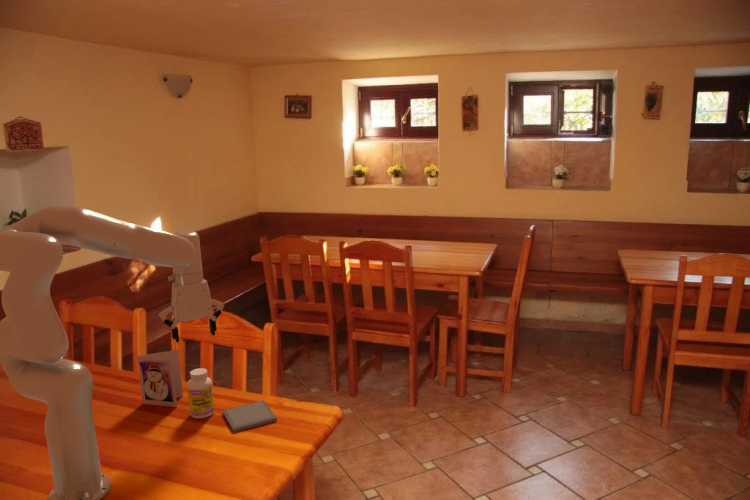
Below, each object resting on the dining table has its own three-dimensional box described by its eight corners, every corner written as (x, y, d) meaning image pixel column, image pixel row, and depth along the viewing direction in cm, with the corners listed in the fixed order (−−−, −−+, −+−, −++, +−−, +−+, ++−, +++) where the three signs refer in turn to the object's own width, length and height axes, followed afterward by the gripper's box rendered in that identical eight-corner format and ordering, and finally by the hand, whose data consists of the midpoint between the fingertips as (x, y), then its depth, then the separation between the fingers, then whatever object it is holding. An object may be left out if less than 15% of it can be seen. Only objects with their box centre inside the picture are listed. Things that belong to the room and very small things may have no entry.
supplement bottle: (189, 421, 165) (185, 378, 162) (190, 410, 171) (186, 368, 168) (214, 417, 166) (210, 374, 164) (214, 406, 173) (210, 365, 170)
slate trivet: (276, 420, 163) (276, 417, 163) (233, 432, 158) (233, 428, 158) (263, 403, 174) (263, 399, 173) (222, 413, 168) (222, 410, 168)
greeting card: (141, 405, 175) (135, 357, 172) (155, 393, 182) (150, 347, 179) (175, 408, 172) (170, 359, 169) (189, 396, 179) (184, 350, 176)
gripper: (157, 285, 153) (164, 348, 157) (224, 275, 161) (229, 335, 164) (152, 279, 159) (160, 339, 163) (217, 269, 167) (223, 327, 171)
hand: (195, 337), depth 164 cm, fingers open, 9 cm apart
